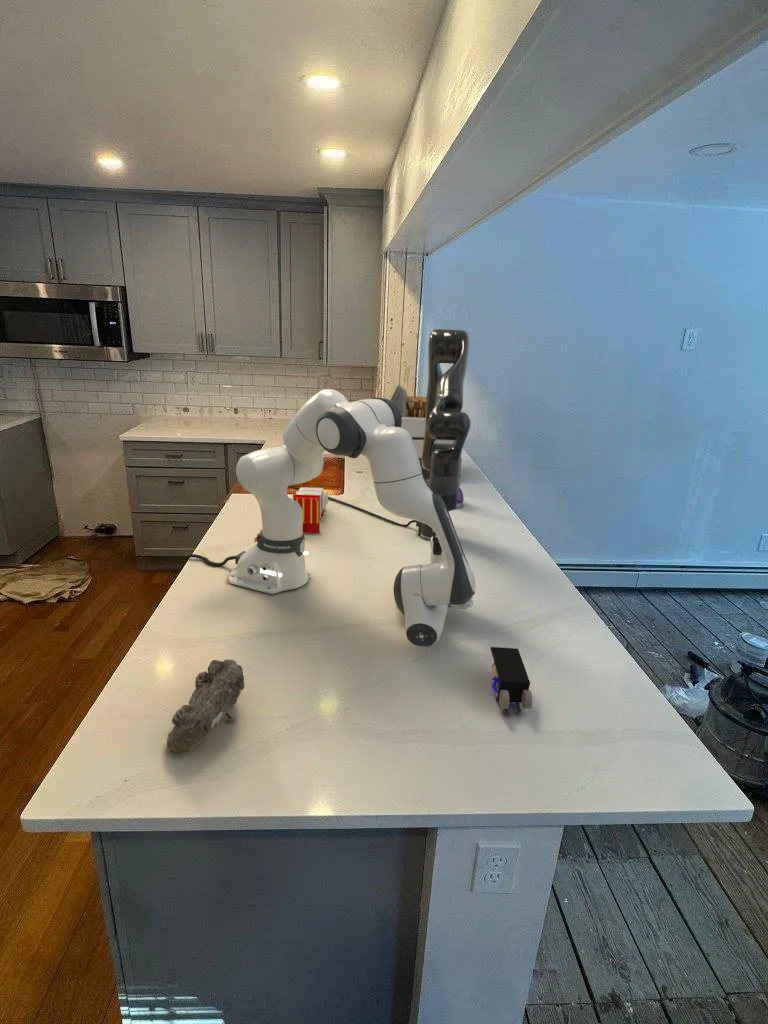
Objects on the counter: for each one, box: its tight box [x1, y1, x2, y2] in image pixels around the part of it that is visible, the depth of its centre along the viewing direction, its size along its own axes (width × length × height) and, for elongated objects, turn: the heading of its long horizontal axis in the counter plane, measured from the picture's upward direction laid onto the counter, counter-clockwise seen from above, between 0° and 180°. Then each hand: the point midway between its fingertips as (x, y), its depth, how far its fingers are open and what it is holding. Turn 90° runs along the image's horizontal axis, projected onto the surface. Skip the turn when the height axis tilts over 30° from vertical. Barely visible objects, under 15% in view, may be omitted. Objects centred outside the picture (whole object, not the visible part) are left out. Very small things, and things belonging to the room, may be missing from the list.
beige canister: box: [429, 547, 446, 564], centre depth 152 cm, size 4×4×18 cm
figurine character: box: [490, 646, 533, 714], centre depth 117 cm, size 7×8×15 cm
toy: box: [292, 486, 329, 534], centre depth 207 cm, size 12×13×30 cm
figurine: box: [455, 480, 464, 509], centre depth 229 cm, size 9×10×15 cm
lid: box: [429, 536, 437, 549], centre depth 150 cm, size 5×5×2 cm
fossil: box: [166, 658, 245, 754], centre depth 106 cm, size 22×10×15 cm
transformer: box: [390, 384, 463, 482], centre depth 268 cm, size 34×33×41 cm
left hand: (437, 578), depth 154 cm, fingers closed on beige canister, 4 cm apart
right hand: (438, 548), depth 150 cm, fingers open, 7 cm apart
